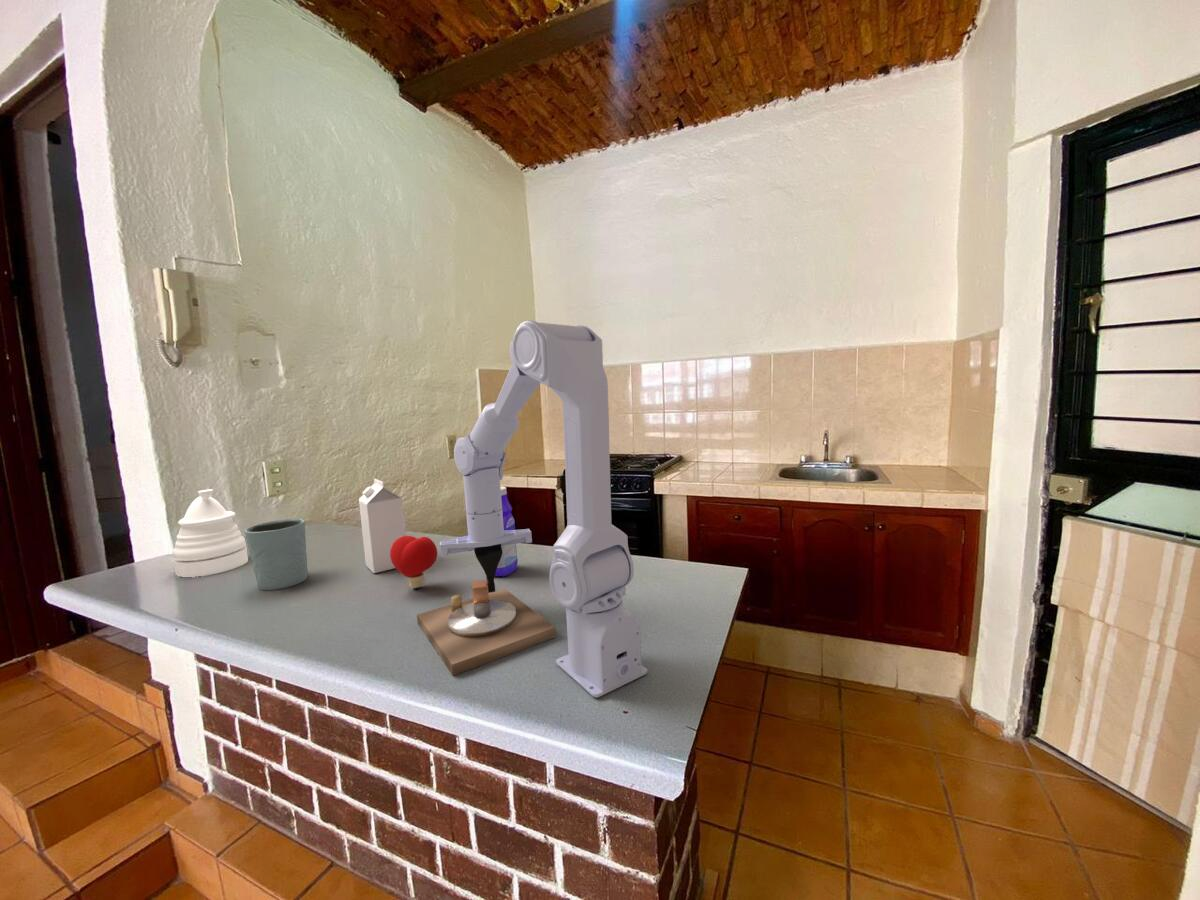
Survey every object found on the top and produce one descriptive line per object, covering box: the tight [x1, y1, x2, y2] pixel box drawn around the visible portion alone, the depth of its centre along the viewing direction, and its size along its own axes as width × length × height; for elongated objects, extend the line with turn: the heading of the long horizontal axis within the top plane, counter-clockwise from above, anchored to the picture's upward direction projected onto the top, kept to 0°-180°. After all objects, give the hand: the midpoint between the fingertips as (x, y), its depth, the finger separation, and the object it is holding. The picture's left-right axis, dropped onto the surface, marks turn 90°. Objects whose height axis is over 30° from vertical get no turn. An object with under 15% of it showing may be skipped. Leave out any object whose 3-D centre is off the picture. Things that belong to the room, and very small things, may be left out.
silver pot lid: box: [448, 579, 516, 637], centre depth 72 cm, size 12×10×3 cm
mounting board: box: [416, 588, 557, 677], centre depth 71 cm, size 18×15×4 cm
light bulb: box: [390, 535, 438, 590], centre depth 88 cm, size 9×7×10 cm
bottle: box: [495, 485, 519, 578], centre depth 94 cm, size 7×6×17 cm
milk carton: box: [358, 478, 407, 574], centre depth 101 cm, size 7×7×19 cm
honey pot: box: [172, 488, 249, 578], centre depth 106 cm, size 13×13×18 cm
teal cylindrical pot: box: [244, 518, 309, 591], centre depth 95 cm, size 10×10×12 cm
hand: (490, 590), depth 77 cm, fingers closed, pressing on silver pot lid
